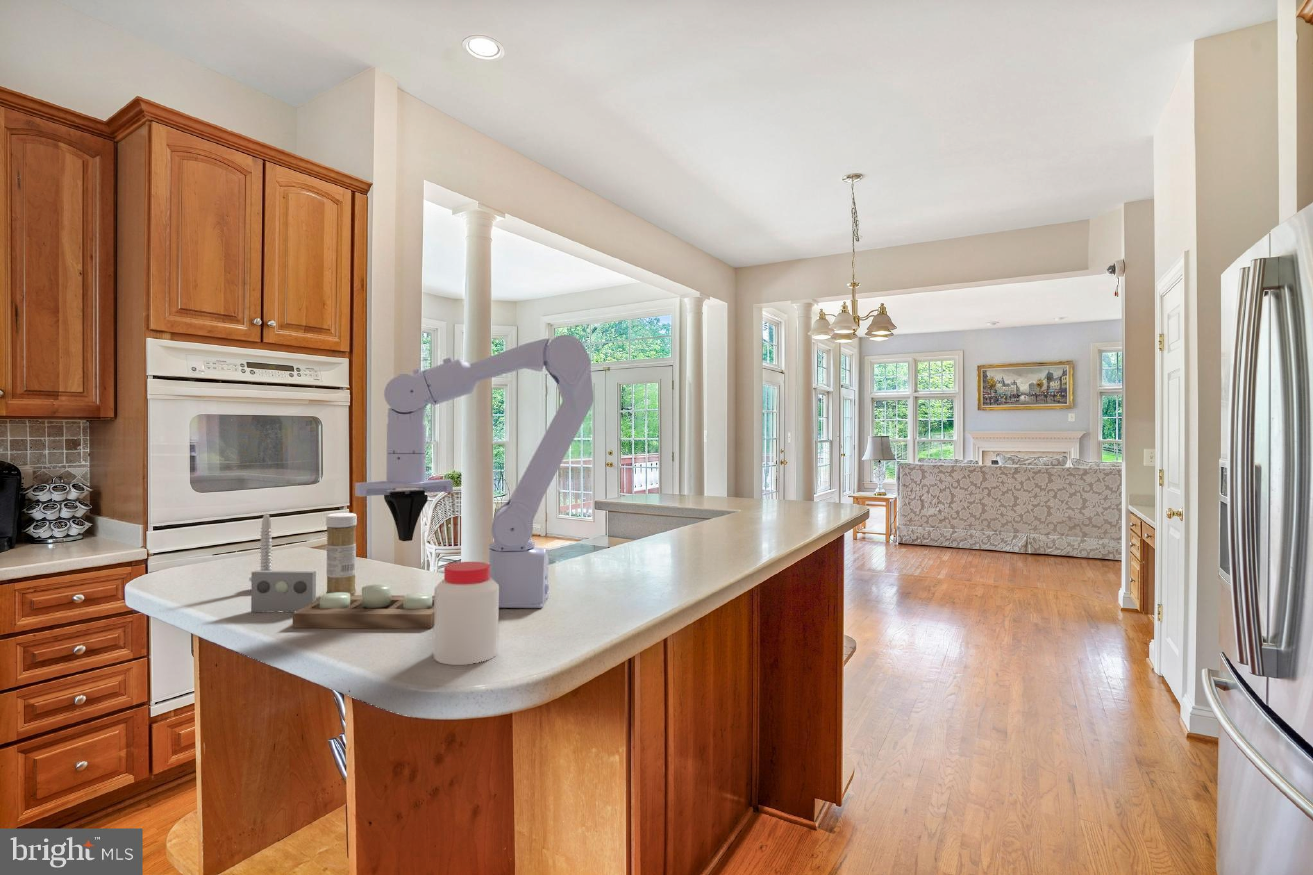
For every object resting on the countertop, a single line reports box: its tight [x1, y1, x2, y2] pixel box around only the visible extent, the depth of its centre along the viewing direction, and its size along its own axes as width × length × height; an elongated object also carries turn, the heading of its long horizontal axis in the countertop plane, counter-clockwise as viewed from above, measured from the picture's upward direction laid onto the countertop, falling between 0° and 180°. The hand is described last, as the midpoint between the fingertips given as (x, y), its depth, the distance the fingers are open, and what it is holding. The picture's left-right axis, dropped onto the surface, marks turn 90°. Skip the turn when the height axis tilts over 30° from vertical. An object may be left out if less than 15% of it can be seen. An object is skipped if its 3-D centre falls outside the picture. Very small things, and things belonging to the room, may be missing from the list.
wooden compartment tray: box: [292, 594, 434, 630], centre depth 94 cm, size 19×10×2 cm, turn 92°
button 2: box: [403, 592, 433, 609], centre depth 95 cm, size 4×4×2 cm
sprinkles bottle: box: [325, 512, 358, 595], centre depth 107 cm, size 5×5×13 cm
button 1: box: [319, 592, 350, 609], centre depth 94 cm, size 4×4×2 cm
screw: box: [248, 513, 273, 583], centre depth 109 cm, size 13×5×5 cm
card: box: [250, 570, 317, 613], centre depth 97 cm, size 9×1×6 cm, turn 92°
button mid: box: [361, 583, 392, 608], centre depth 94 cm, size 4×4×2 cm
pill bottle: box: [432, 561, 500, 666], centre depth 80 cm, size 8×8×11 cm
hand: (405, 540), depth 100 cm, fingers closed
